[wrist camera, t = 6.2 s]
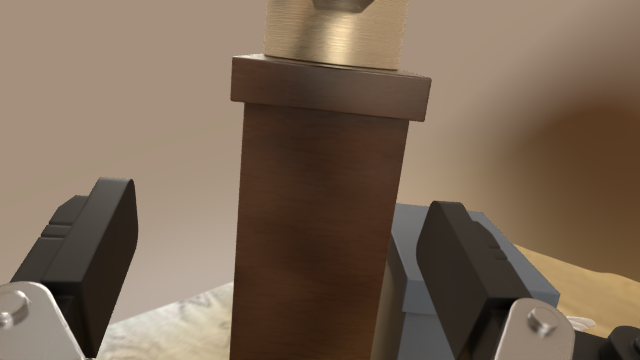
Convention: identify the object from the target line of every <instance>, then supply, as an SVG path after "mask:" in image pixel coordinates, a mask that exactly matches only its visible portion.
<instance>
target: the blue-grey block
mask: <svg viewBox="0 0 640 360" xmlns="http://www.w3.org/2000/svg"><path fill="white" fill-rule="evenodd" d="M428 209H429V207H427V206H417V205H408V204H398V203H396V205H395V212H394V218H393V224H392V230H391V236H390V242H389V248H388V254H387V260H386V266H385V272H384V279H383V285H382V291H381V297H380V303H379V309H378V315H377V321H376V327H375V333H374V339H373V346H372V352H371V358H370V360H455V359H454V356H453V354H452V351H451V349H450V346H449V344H448V341H447V338H446V336H445V333H444V331H443V328H442V326H441V323H440V320H439V318H438V315H437V313H436V310H435V308H434V305H433V303H432V300H431V297H430V295H429V292H428V290H427V287H426V285H425V282H424V280H423V277H422V274H421V272H420V269H419V267H418V264H417V260H416V246H417V241H418V238H419V235H420V233H421V230H422V227H423V224H424V221H425V218H426V215H427V212H428ZM467 212H468V214H469V215H470V217H471V219H472V220H473V221H478V222H479V223H480V224H482V225H483V226H484V227H485V228H486V229H487V230H489V231H490V232H491V233H492V234H493V236H494V237H495V239H496V240H497V242H498V244H499V245H500V249H501V250H503V251H504V253H505V255H506V256H507V260H508V261H510V262H511V264H512V266H513V267H514V269H515V270H516V272H517V273H518V275H519V277H520V278H521V280H522V281H523V283H524V284H525V286H526V287H527V289H528V291H529V292H530V294H531V295H532V297H533V298H534V299H537V300H540V301H543V302H545V303H548V304H549V305H551V306H553V307H554V308H557V304H558V301H559V297H560V293H559V292H558V291H557V290H556V289H555V288H554V287H553V286H552V285H551V284H550V283H549V282H548V280H547V279H546V278H545V277H544V276H543V275H542V274H541V273H540V272H539V271H538V270H537V269H536V268H535V267H534V266H533V265H532V264H531V263H530V262H529V261H528V260H527V258H526V257H525V256H524V255H523V254H522V253H521V252H520V251H519V250H518V249H517V248H516V247H515V246H514V245H513V244H512V243H511V242H510V241H509V240H508V239H507V237H506V236H505V235H503V234H502V232H501V231H500V230H499V229H498V228H497V227H496V226H495V225H494V224H493V223H492V222H491V221H490V220H489V219H488V218H487V217H486V216H485V214H484V213H482V212H475V211H467Z"/></svg>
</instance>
